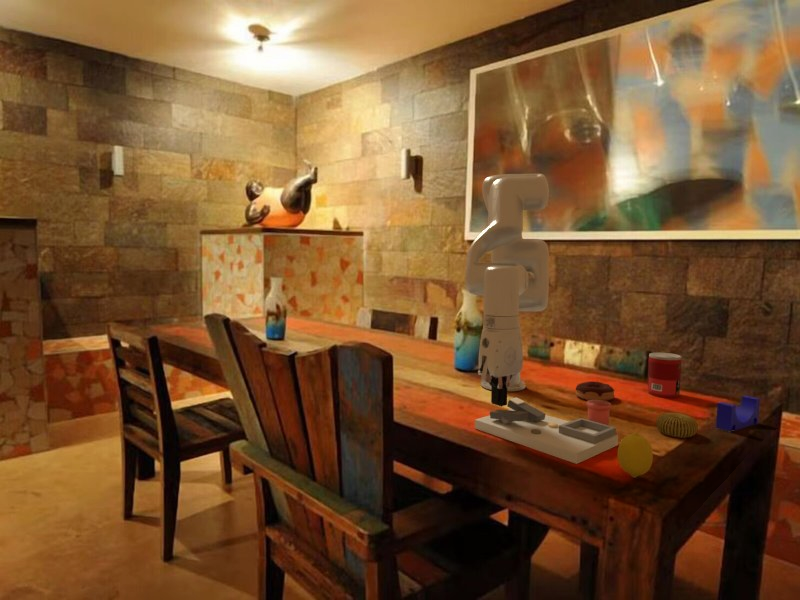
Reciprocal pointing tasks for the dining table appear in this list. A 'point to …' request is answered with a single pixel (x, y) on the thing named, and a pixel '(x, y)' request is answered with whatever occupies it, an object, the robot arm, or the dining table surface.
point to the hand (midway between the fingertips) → (499, 404)
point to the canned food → (664, 375)
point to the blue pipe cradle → (738, 414)
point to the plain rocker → (509, 415)
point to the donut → (594, 391)
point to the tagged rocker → (526, 409)
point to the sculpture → (677, 425)
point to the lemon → (635, 454)
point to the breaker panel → (555, 436)
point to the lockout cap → (598, 411)
